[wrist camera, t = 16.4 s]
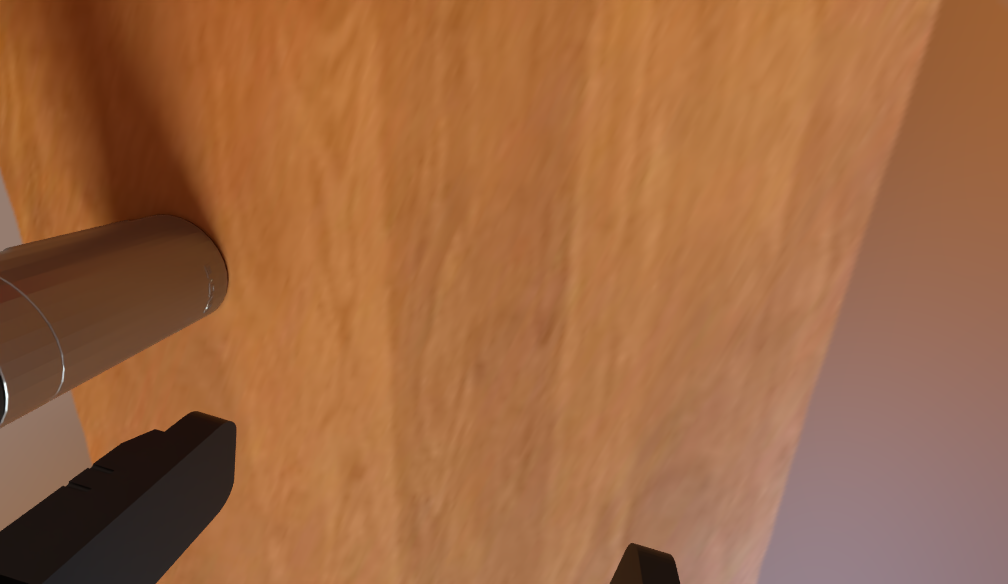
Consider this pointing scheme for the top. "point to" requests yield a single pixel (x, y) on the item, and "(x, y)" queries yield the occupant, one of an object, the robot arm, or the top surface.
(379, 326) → the top surface
